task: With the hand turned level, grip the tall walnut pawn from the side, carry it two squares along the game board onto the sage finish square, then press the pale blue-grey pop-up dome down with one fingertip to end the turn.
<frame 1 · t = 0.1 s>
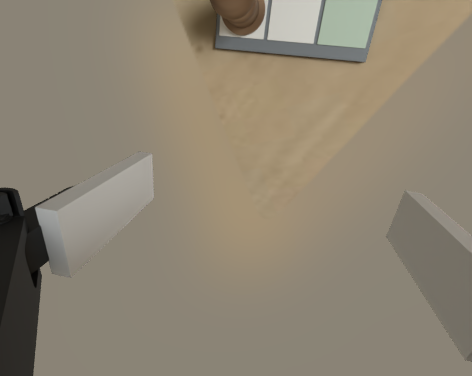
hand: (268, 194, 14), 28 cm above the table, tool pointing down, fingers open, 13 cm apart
game board: (293, 16, 34), on the table
walnut pawn: (243, 10, 33), point 1 cm above the table, touching game board
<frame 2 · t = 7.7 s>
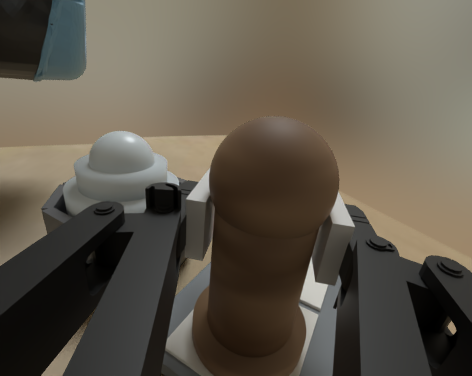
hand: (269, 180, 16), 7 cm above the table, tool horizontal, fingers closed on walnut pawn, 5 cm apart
game board: (285, 270, 19), on the table
dome base: (130, 245, 20), on the table
walnut pawn: (247, 328, 13), point 1 cm above the table, touching game board, gripper
pop-up dome: (124, 172, 17), point 6 cm above the table, slide at 0.0 cm
when the fingers open (9 cm above the table, at t = 12.8 s): walnut pawn drops 1 cm, resting on game board.
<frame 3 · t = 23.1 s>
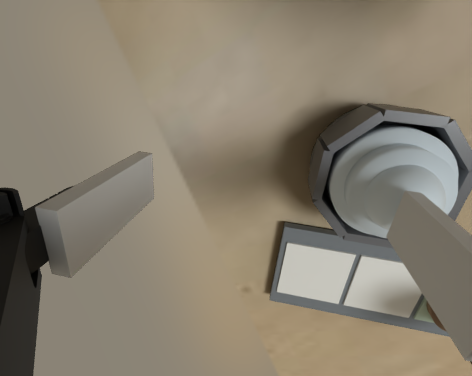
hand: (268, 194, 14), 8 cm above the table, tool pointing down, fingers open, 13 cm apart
game board: (382, 280, 25), on the table
dome base: (368, 163, 20), on the table
pop-up dome: (396, 192, 16), point 5 cm above the table, slide at 0.6 cm, touching gripper
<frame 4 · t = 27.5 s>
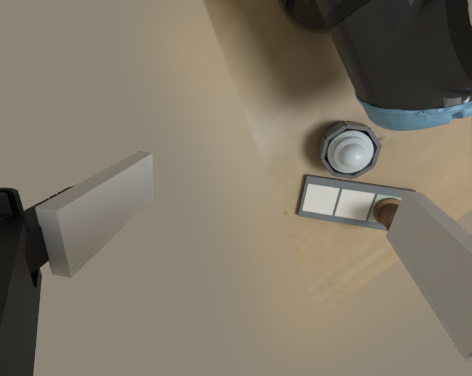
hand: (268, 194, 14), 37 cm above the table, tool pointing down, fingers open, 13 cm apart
game board: (352, 202, 52), on the table
dome base: (344, 146, 48), on the table
walnut pawn: (388, 210, 50), point 1 cm above the table, touching game board
pop-up dome: (351, 154, 43), point 5 cm above the table, slide at 0.8 cm
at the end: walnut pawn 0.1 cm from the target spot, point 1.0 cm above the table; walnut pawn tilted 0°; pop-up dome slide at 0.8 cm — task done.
